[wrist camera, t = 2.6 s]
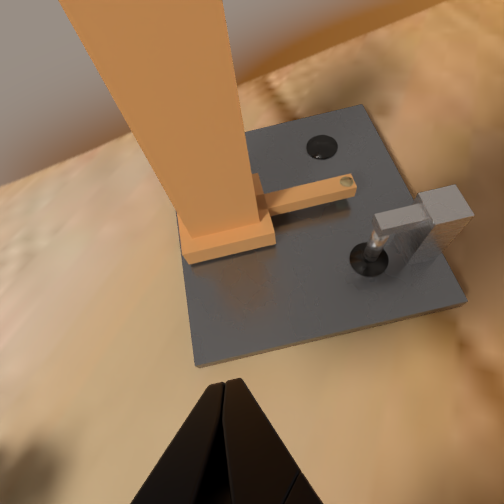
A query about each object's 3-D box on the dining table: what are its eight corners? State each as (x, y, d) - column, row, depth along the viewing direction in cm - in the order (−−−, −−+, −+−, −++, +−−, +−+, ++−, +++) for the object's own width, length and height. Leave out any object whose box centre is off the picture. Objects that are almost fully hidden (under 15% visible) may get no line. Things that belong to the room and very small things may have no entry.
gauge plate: (460, 306, 21) (519, 266, 15) (199, 368, 21) (166, 350, 15) (359, 113, 29) (375, 43, 23) (172, 158, 29) (144, 99, 23)
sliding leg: (363, 223, 22) (496, -152, 8) (188, 264, 22) (-9, -29, 8) (339, 167, 25) (406, -204, 10) (180, 205, 25) (17, -109, 10)
